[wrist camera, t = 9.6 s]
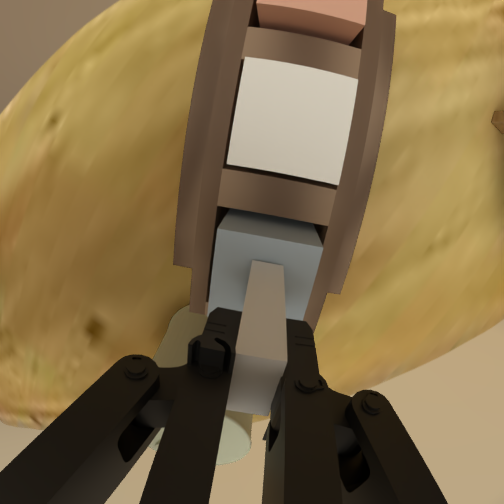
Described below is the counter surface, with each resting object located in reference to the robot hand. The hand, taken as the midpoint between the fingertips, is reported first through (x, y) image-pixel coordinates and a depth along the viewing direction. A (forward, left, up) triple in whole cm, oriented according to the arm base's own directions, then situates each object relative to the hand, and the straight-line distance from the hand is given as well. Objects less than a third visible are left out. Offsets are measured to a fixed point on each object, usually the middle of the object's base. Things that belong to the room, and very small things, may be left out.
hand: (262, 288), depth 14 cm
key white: (0, +8, -7) cm, 10 cm away
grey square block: (0, 0, -7) cm, 7 cm away
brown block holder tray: (0, +8, -10) cm, 12 cm away
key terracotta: (0, +16, -7) cm, 17 cm away
